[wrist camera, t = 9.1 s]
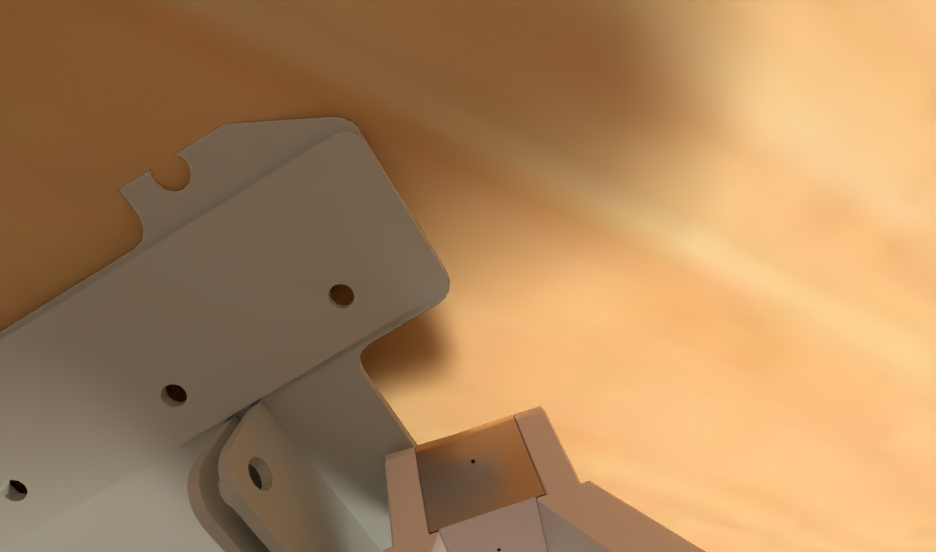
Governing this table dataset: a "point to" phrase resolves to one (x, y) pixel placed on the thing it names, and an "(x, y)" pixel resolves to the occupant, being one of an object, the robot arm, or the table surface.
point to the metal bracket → (222, 360)
